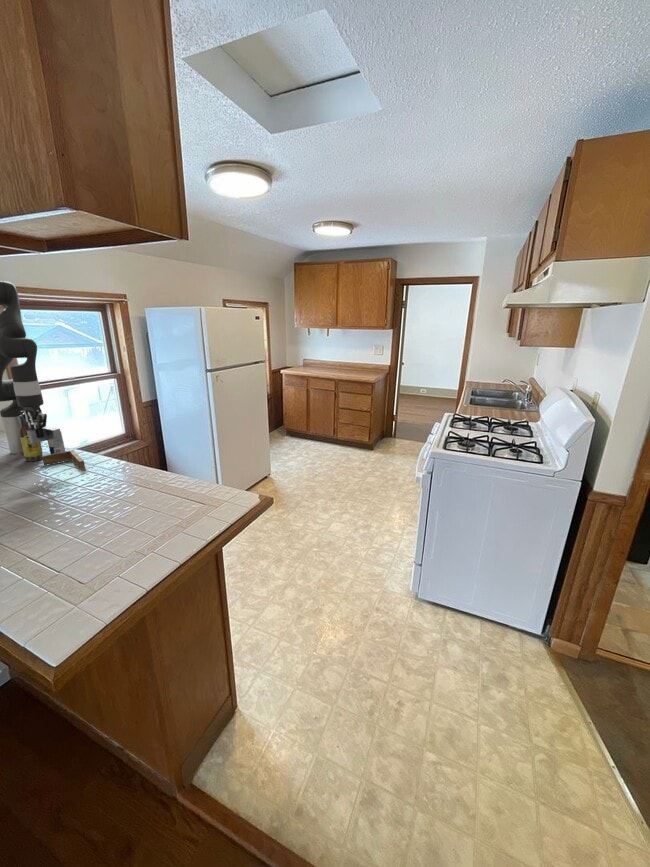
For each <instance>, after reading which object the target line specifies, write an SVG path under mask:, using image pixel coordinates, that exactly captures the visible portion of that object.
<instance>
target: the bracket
mask: <svg viewBox="0 0 650 867" xmlns="http://www.w3.org/2000/svg"><path fill="white" fill-rule="evenodd" d="M60 431H61V428H58V427H54V426H49V425H46V427H43V432H44V437H43V438H37V435H36V430H35V429H30V430H27V434H28V438H29V442H30V443H32V444H34V443H38V442H42V443H43V442H46V441H47V442H48V441H51V442H55V443H56V442H60V441H62V438H63V436H62V437H61V433H62V431H61V432H60Z"/></svg>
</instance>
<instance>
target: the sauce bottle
mask: <svg viewBox="0 0 650 867" xmlns="http://www.w3.org/2000/svg"><path fill="white" fill-rule="evenodd" d="M19 417H20V420H21V425H22V427H21V429H20V438H21V443H22V448H23V452H24V453H23V455H24V456H23V457H24V459H25V461H27V462H33V461H35V462H36V461H39V460H41V459H42V456H43V454H44V453H43V449H42V448H43V447H42V443H41V442H38V443H34V444H32V443H30V442H29V438H28V434H27V430H30V429H31V428H29V425H28V426H27V425H26V424H25V422H24V420H23V418H22V416H21V415H20V416H19Z"/></svg>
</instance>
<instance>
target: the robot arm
mask: <svg viewBox="0 0 650 867" xmlns="http://www.w3.org/2000/svg"><path fill="white" fill-rule="evenodd" d="M0 306H4V307H6V308H5V309H4V310H3V311H2V312H1V313H0V402H9V401H11V403H10V404H9V405H7V406H6V407H4V408H2V409H0V418H1V421H2V425H3V429H4V433H5V436H6V441H7V444H8V448H9V452H10V454H12V455H20V454H24V452H23V448H22V443H21V438H20V429H21V427H22V425H21V420H20V417H19V416H20V415H21V416H22V418H23V420H24V422H25V424H26V425H27V426H28V425H29V428H31V429H35V430H36V435H37V438H43V437H44V432H43V427H46V426H47V418H48V415H47V413H43V411H42V409H41V406H42V405H44V404H45V403H44V398H43V394H42V388H41V385H40V383H39V379H38V378H39V377H38V374H37V371H36V367H37V366H36V361H37V354H38V346H37V343H36V342H35V340H34V339H32V338H29V337H27V333H26V329H25V326H24V324H23V320H22V313H21V304H20V296H19V293H18V289H17V287H16V286H15V284H14V283H13V282H10V281H4V280H0ZM25 358H26V360H25V361H24V362H22V363H19V364H15V365H13V364H12V365H11V367H10V373H11V377H12V378H11V379H10V378H8V379H3V377H4V373H5V371H6V369H7V368H8V366H9V365H10V364H11V362H13V360H14V359H25Z"/></svg>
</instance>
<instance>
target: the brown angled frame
mask: <svg viewBox="0 0 650 867" xmlns="http://www.w3.org/2000/svg"><path fill="white" fill-rule="evenodd" d="M42 455H43V454H42ZM63 461H64V462H67V461H72V462H73V463H74V464H75V466H76V467H77V466H78V467H77V468H78V469H79V470H80V471H82V472H83V471H86V465H85V461H84V459H83V458H82V456H80V455H79V454H78V453H77V452H76V451H75V450H74V449H71V450H65V451H64V452H59V453H53V454H50V453H49V454H44V455H43V456H42V464H43V466H44V465H45V466H48V465H47V464H50V465H53V463H55V464H58V462H59V463H64V462H63Z"/></svg>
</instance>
